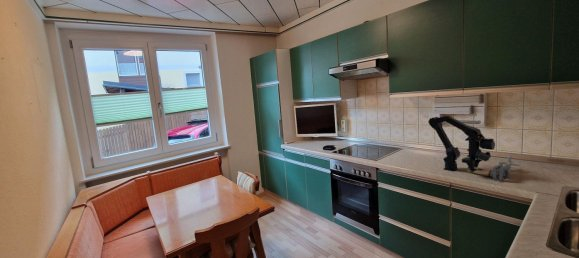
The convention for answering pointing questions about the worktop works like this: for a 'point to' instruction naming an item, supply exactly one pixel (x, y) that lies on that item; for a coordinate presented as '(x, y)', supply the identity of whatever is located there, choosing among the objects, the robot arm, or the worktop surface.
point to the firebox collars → (500, 172)
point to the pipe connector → (509, 163)
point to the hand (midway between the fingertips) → (473, 170)
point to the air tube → (483, 172)
